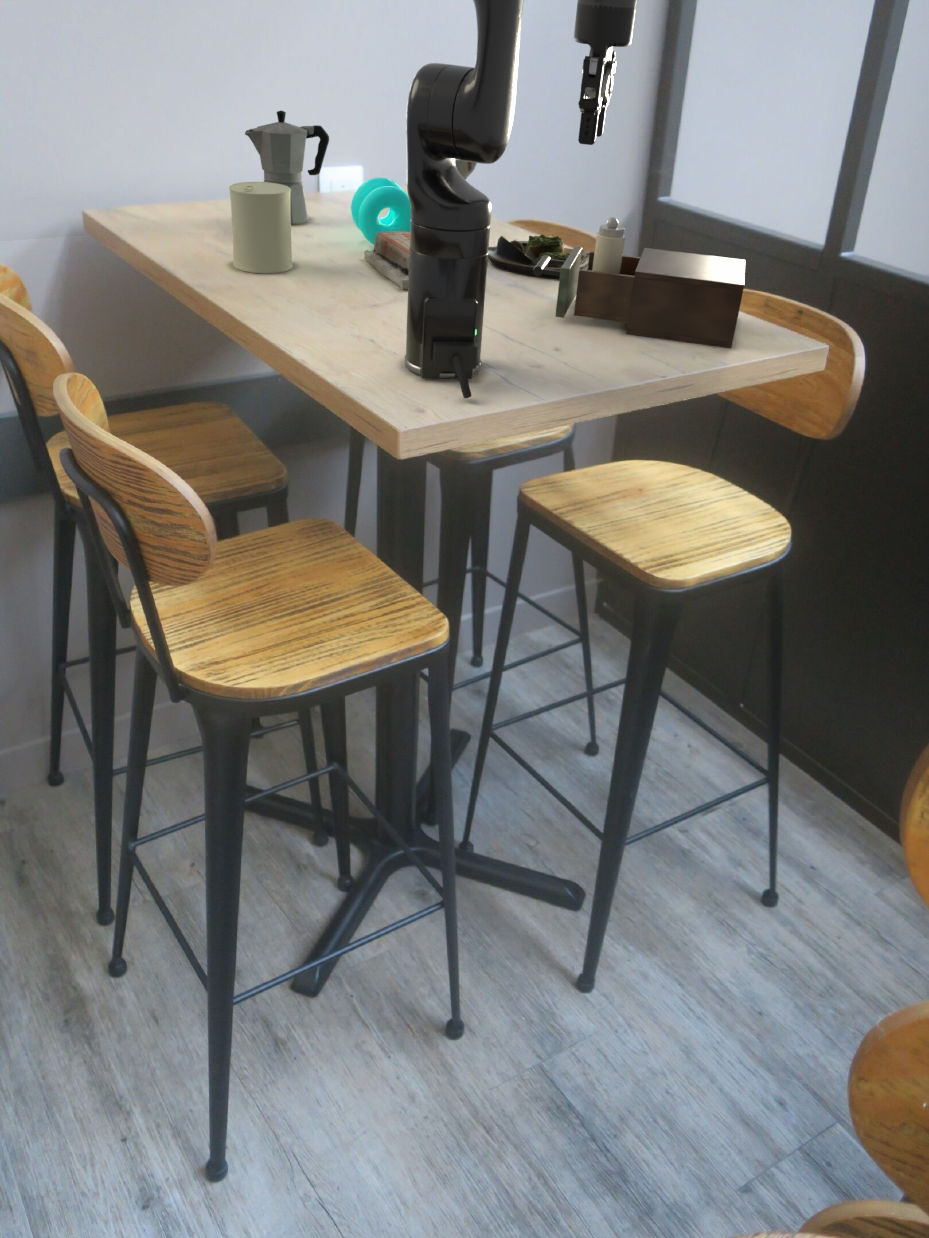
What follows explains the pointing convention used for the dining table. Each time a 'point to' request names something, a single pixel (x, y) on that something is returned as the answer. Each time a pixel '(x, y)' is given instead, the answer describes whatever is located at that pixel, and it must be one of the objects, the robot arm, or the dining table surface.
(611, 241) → the pepper mill
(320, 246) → the dining table surface
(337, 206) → the dining table surface
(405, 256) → the packaged product
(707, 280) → the cabinet
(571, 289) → the drawer
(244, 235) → the can
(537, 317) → the dining table surface
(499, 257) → the salad plate
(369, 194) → the donuts
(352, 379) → the dining table surface
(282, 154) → the coffeepot
